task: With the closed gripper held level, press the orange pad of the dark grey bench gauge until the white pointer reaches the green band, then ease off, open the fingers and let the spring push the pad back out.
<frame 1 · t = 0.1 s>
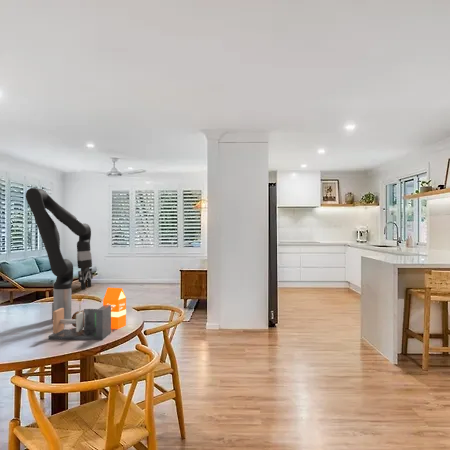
hand: (86, 288, 218), 17 cm above the table, tool pointing down, fingers open, 8 cm apart
gauge housing: (80, 336, 183), on the table
orange juice: (114, 327, 202), on the table
plunger: (67, 320, 183), point 7 cm above the table, slide at 0.0 cm
tin: (84, 326, 203), on the table
pointer: (79, 316, 183), point 9 cm above the table, slide at 0.0 cm
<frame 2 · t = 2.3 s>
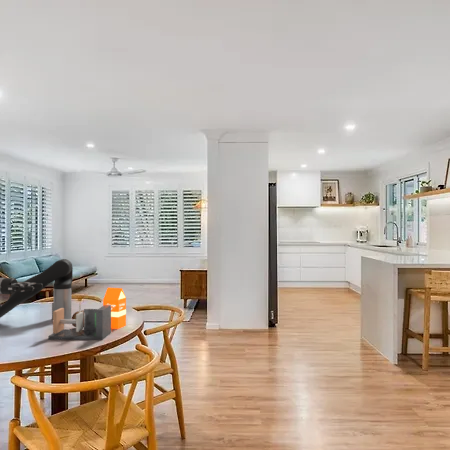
hand: (37, 287, 184), 23 cm above the table, tool horizontal, fingers open, 8 cm apart
nothing on the table moved.
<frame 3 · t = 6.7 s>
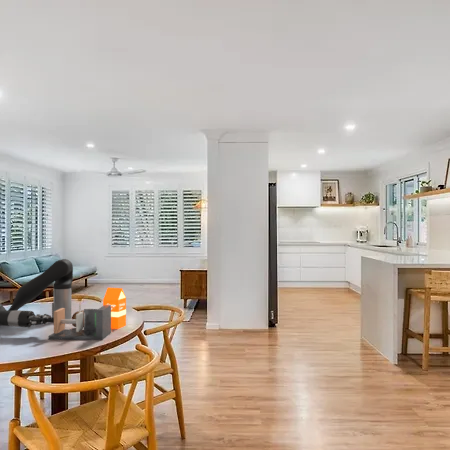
hand: (57, 320, 183), 8 cm above the table, tool horizontal, fingers closed
plunger: (68, 320, 183), point 7 cm above the table, slide at 0.4 cm, touching gripper
everything else where it was.
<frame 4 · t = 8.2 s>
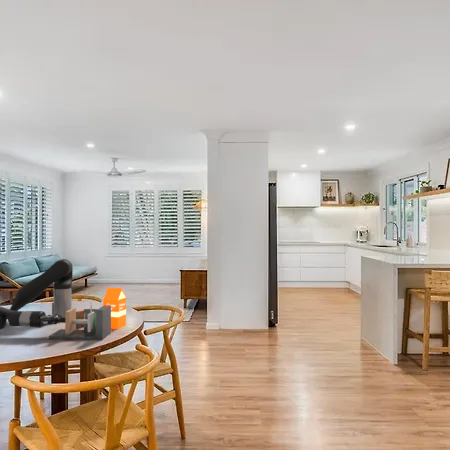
hand: (68, 320, 183), 8 cm above the table, tool horizontal, fingers closed
plunger: (79, 320, 183), point 8 cm above the table, slide at 5.8 cm, touching gripper, pointer
pointer: (91, 316, 183), point 9 cm above the table, slide at 5.4 cm, touching plunger
everything else where it was.
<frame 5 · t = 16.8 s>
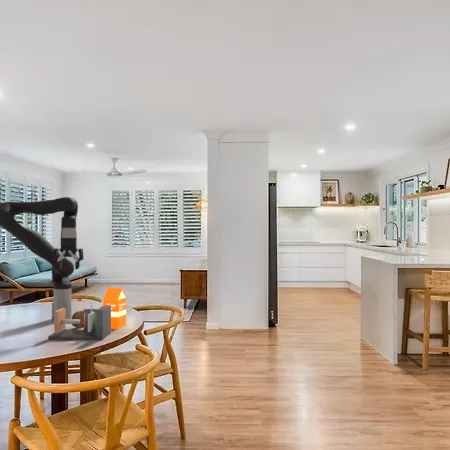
hand: (68, 269, 198), 30 cm above the table, tool pointing down, fingers open, 8 cm apart
plunger: (68, 320, 183), point 8 cm above the table, slide at 0.6 cm
pointer: (91, 316, 183), point 9 cm above the table, slide at 5.4 cm
everything else where it was.
at the end: pointer slide at 5.4 cm; plunger slide at 0.6 cm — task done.
